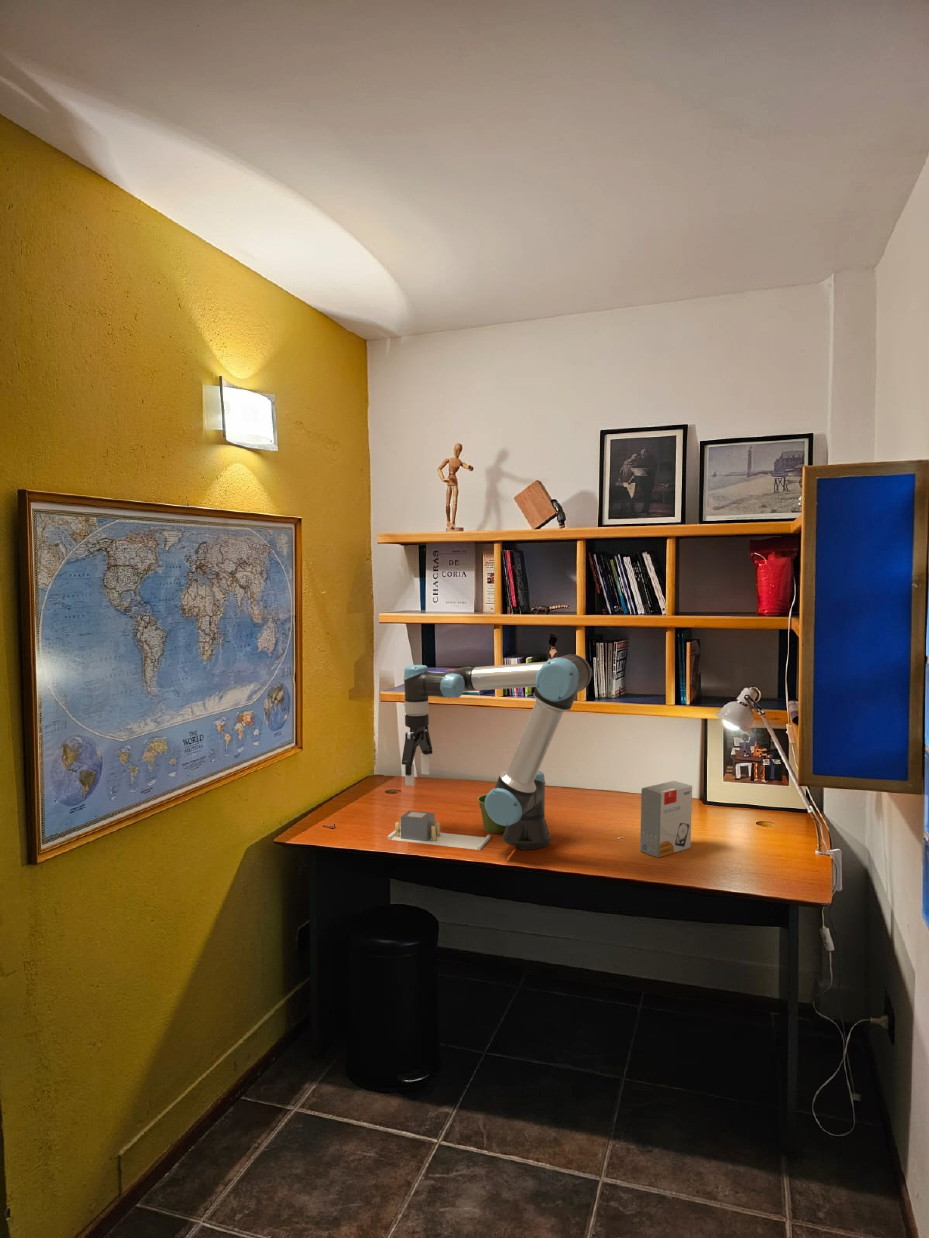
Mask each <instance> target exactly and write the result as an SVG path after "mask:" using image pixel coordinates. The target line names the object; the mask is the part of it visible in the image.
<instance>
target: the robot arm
mask: <svg viewBox="0 0 929 1238" xmlns="http://www.w3.org/2000/svg"><path fill="white" fill-rule="evenodd" d="M591 680H592V670H591V666H590V664H589V662H588V661H587V660H586V659H585V658H584V657H583V656H581V655H577V654H571V653H570V654H566V655H562V656H558V657H549V658H548V660H547V661H539V662H525V663H514V664H513V663H510V664H499V665H498V664H497V665H487V666H475V667H470V666H463V667H460V668H457V669H454V670H449V671H445V672H430V671H429V669H428V666H427V665H425V664H424V665H423V664H410V665H406V666H405V667H404V674H403V682H404V684H403V685H404V703H403V706H404V713H406V714H405V715H404V725H405V727H407V728H409V732H405V734H404V735H405V737H404V746H403V751H402V757H401V758H402V759H401V766H402V765H404V783H405V784H404V785H405V786H415V764H413V762H414V759H415V756H416V752H417V748H418V747H419V748H420V751H421V754H420V765H421V766H420V768H421V771H420V773H421V775H430V774H431V767H430V766H431V764H430V763H431V762H430V760H431V759H430V758H431V757H430V755H432V754H433V745H432V740H431V736H430V732H429V724H430V723H429V721H430V719H429V714H428V713H429V709H430V708H429V697H434V698H435V697H436V698H447V699H451V698H452V699H458V698H461V696H462V695H463V694H464V692H474V691H487V690H502V689H506V690H507V689H518V688H521V689H522V688H524V689H525V688H535V689H534V690H533V697H534V699H535V702H534V705H533V707H532V710H531V712H530V714H529V717H528V720H527V722H526V724H525V726H524V728H523V731H522V734H521V735H520V738H519V741H518V743H517V746H516V748H515V751H514V753H513V756H512V758H511V760H510V762H509V764H508V767H507V769H506V770H502V771H501V772H500V774H499V776H498V778H497V781H496V782H495V785H494V787H493V788H492V789H490V790H489V792H488V793H486V794H487V796H486V798H485V809H486V811H487V813H488V816H489V817H490V818H491V819H492V820H493V821H494V822H495V823H497V824H499V825H503V826H506V827H505V830H504V832H502V840H503V842H504V843H506V844H507V845H510V846H511V845H512V846H514V849H519V850H537V849H542V848H545V847H547V846H549V845H550V844H551V833H550V831H549V828H548V825H547V821H546V819H545V817H546V816H545V814H546V813H545V812H546V811H545V810H546V809H545V807H546V803H545V802H546V800H545V799H546V793H545V792H546V789H545V788H546V779H545V773H543V772H542V771H541V770H540V768H541V765H542V763H543V761H544V758H545V756H546V754H547V751H548V749H549V747H550V744H551V743H552V740H553V737H554V736H555V735H554V734H555V733H556V730H557V728H558V726H559V724H560V720H561V718H562V715H563V714H564V713H565V712H568V711H570V710H571V708H572V706H573V704H574V701H575V700H576V697H577V695H578V693H580V692H581V691H583V690H585V689H586V688H587V686H588V685H589V684H590V681H591Z"/></svg>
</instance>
